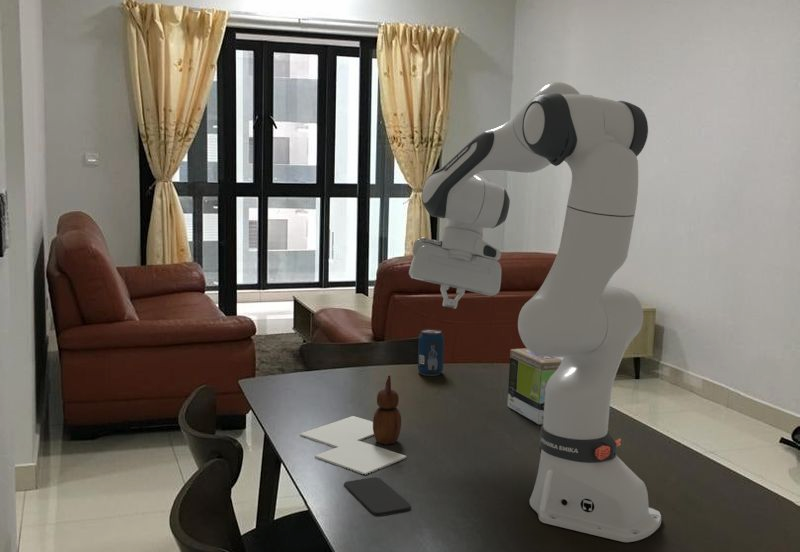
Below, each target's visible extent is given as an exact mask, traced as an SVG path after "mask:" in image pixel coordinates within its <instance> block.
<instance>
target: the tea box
mask: <svg viewBox="0 0 800 552" xmlns="http://www.w3.org/2000/svg"><path fill="white" fill-rule="evenodd" d="M509 354H510V355H509V371H508V372H509V373H508V389H507V392H508V393H507V407H508V408H510V409H512V410H513V411H515V412H517V413H518V414H520V415H522V416H524V417H525V418H527V419H529V420H530V421H532V422H534V423H535V424H537V425H543V421H544V404H545V388H546V384H547V382H548V380H549V378H550V377H551V376H552V375H553V374H554V372H555V371H556V370H557V369H558V367H559V366H560V364H561V362H562V360H563V357H549V356H542V355H536V354H534V353H532V352H531V351H529V350H528V349H527V348H526V347H524V348H511V349H510V353H509Z"/></svg>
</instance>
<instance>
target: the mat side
mask: <svg viewBox="0 0 800 552" xmlns="http://www.w3.org/2000/svg"><path fill="white" fill-rule="evenodd" d="M314 458H316V459H319V460H322V461H324V462H327V463H330V464H332V465H335V466H338V467H341V468H344V469H346V468H347V469H346V470H349V469H350V470H349V471H352V470H353V472H355V471H356V472H355V473H358V474H362V475H363V474H365V475H364V476H366V474H367V475H369V474H371V472H372V473H374V472H377V471H378V469H379V470H381V469H384V468H386V467H388V466H391V465H392V464H396V463H398V462H400V461H402V460H404V459H407V455H405V454H401V453H398V452H396V451H392V450H389V449H387V448H383V447H380V446H376V445H374V444H370V443H367V442H364V441H362V440H360V441H358V440H356V441H353V442H350V443H347V444H345V445H342V446H339V447H337V448H336V447H333V448H331V449H329V450H326V451H323V452H321V453H319V454H318V453H317V454H315V455H314ZM368 473H369V474H368Z"/></svg>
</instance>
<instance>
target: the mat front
mask: <svg viewBox="0 0 800 552" xmlns="http://www.w3.org/2000/svg"><path fill="white" fill-rule="evenodd" d="M373 435H374V432H373V420H372V421H371V420H369V419H365V418H361V417H358V416H354V415H351V416H349V417H346V418H342V419H339V420H337V421H334V422H331V423H328V424H324V425H321V426H319V427H316V428H313V429H310V430H307V431H304V432H301V433H299V436H301V437H303V438H306V439H309V440H312V441H315V442H318V443H321V444H325V445H327V446H331V447H332V448H337V447H339V446H342V445H345V444H347V443H350V442H353V441H356V440H358V441H363V440H366V439H368V438H371V437H374V436H373ZM365 438H366V439H365Z"/></svg>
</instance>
